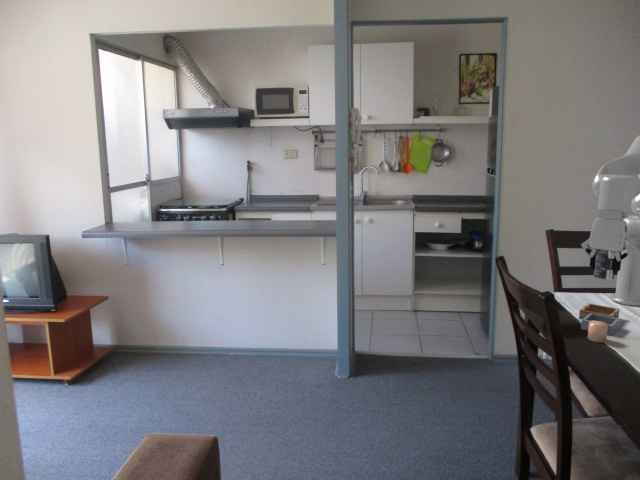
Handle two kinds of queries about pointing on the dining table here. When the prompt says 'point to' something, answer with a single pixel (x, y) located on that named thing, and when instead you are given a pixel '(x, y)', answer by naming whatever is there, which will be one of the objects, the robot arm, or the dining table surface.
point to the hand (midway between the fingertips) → (604, 270)
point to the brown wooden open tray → (598, 311)
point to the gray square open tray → (612, 322)
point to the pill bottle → (604, 265)
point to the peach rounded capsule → (597, 331)
